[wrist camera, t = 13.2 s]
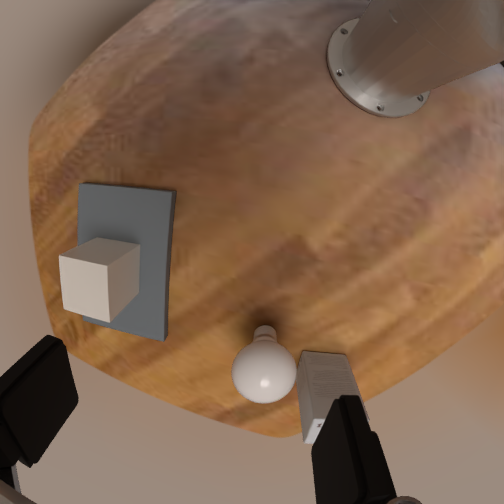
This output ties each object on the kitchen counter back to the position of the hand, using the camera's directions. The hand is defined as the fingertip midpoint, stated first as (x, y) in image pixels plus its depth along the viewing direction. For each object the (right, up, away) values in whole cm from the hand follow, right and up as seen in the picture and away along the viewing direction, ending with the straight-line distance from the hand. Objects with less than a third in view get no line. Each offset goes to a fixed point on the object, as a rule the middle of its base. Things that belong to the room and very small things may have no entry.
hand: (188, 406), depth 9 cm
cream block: (-13, +4, +23) cm, 27 cm away
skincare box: (+11, -10, +28) cm, 31 cm away
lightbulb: (+4, -5, +27) cm, 27 cm away
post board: (-13, +4, +25) cm, 28 cm away
